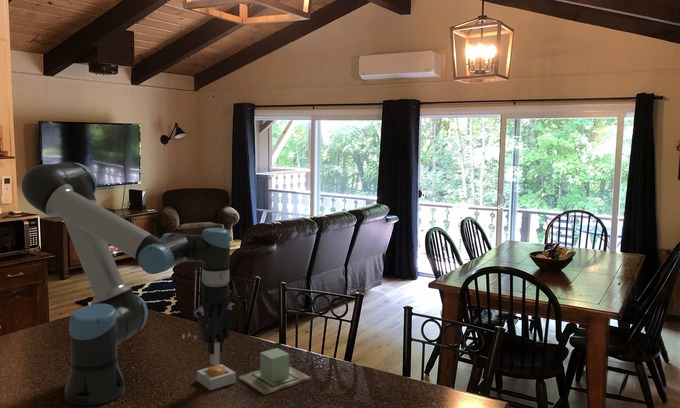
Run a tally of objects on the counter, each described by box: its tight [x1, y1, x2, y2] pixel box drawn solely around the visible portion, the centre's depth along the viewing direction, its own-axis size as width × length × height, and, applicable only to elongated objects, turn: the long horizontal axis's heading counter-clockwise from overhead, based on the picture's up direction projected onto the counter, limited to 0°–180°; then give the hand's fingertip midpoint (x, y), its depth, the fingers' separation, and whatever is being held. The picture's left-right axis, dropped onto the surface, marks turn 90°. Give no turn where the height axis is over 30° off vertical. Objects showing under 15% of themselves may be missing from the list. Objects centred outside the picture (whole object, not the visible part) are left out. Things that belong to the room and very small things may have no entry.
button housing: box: [196, 363, 237, 391], centre depth 165 cm, size 8×8×3 cm
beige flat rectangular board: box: [238, 365, 311, 396], centre depth 167 cm, size 16×13×1 cm
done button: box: [207, 365, 225, 377], centre depth 164 cm, size 5×5×3 cm
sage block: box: [259, 347, 290, 382], centre depth 167 cm, size 6×6×7 cm
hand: (214, 363), depth 164 cm, fingers closed
